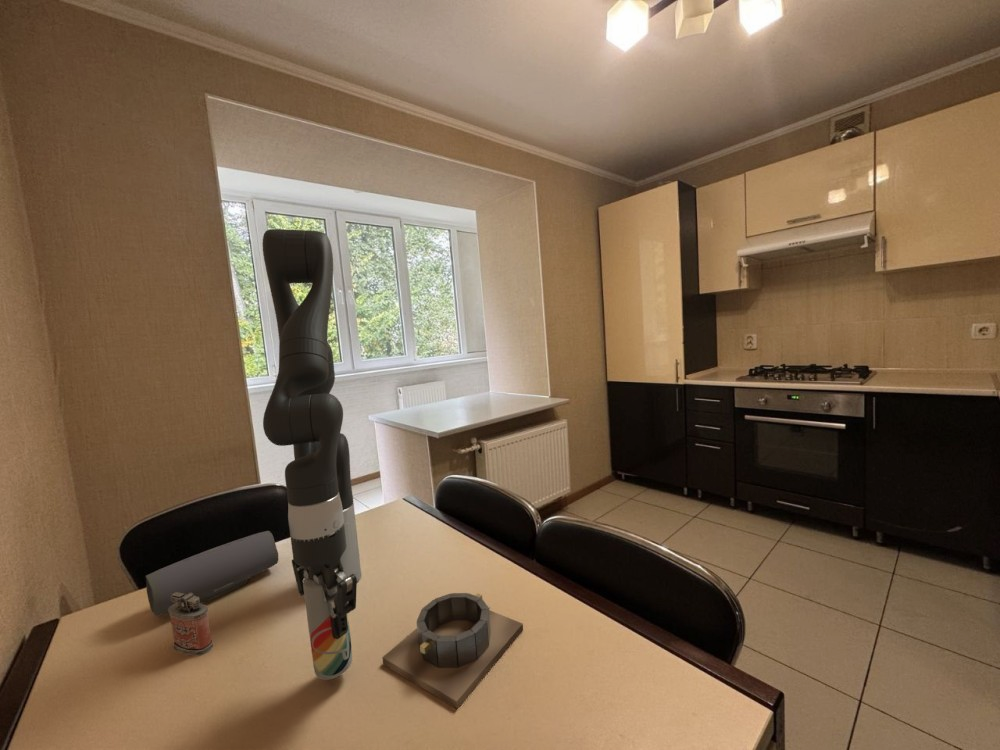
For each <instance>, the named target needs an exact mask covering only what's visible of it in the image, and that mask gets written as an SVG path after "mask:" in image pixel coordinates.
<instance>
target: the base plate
mask: <svg viewBox="0 0 1000 750" xmlns="http://www.w3.org/2000/svg"><path fill="white" fill-rule="evenodd" d="M487 606H488V608H489V616H490V629H491V636H490V643H489V647H488V648H487V649H486V651H485V652H484V653H483V654H482V655H481V656H480V657H479V658H478V659H477V660H476V661H473V662H471V663H469V664H466V665H464V666H462V667H458V668H439V667H438V668H437V667H436V666H434V665H432V664H430V663H428V662H426V661H425V660H424V659H423V657H422V654H421V652H420V649H419V644H418V633H417V627H416V628H415V629H414V630H412V632H410V633H409V634H408V635H407V636H405V637H404V638H403V639H402V640H401V641H400V642H398V643H397V644H396V645H395V646H394V647H393V648H392V649H391V650H389V651H388V652H387V653H386V654H384V655H383V656H382V664H383V666H385V667H388V668H389V669H390V670H391V671H393V672H395V673H397V674H399V675H400V676H402V677H403V678H405V679H406V680H409V681H410V682H412V683H414V684H416V685H417V686H419V687H420V688H422V689H424V690H425V691H427V692H429V693H430V694H432V695H433V696H436V698H438V699H440V700H442V701H444V702H445V703H447V704H448V705H450V706H451V707H453V708H455V709H457V710H458V709H459V707H461V705H462V704H463V703H464V702H465V701H466V699H467V698H468V697H469V696H470V695H471V694H472V692H473V691H474V690H475V689H476V687H477V686H478V685H479V684H480V682H481V681H482V680H483V679H484V678H485V676H486V675H487V674H488V673H489V672H490V670H491V669H493V667H494V665H496V663H497V662H498V661H499V660H500V658H501V657H502V656H503V655H504V653H505V652H507V650H508V649H509V648H510V646H511V645H512V644H513V643H514V642H515V640H516V639H517V638H518V637H519V636H520V634H522V632H523V631H524V624H523V623H522V622H519V621H518V620H515V619H512V618H510V617H508V616H505V615H502V614H499V613H498V612H495V611H492V610H490V609H491V606H489V605H487ZM475 625H476V624H474V623H472V622H470V621H467V620H460V621H451V622H448V623H446V624H443V625H440V626H439V627H438V628H437V629H436V630H434V631H433V633H435V634H437V635H439V636H455V635H458V634H461V633H463V632H466V631H468V630H471V629H472V628H473V627H474V626H475Z"/></svg>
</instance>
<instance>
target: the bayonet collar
mask: <svg viewBox="0 0 1000 750" xmlns="http://www.w3.org/2000/svg"><path fill="white" fill-rule="evenodd" d="M488 606H489V605H487V604H486V602H485V601H484V599H483V595H482V594H481V593H477V594H476V595H474V594H471V593H468V592H452V593H447V594H445V595H441V596H439V597H436V598H434V599H432V600H431V601H430V602H428V603H427V604H426V605H425V606H424V607H422V608H421V610H420V612H419V615H418V618H417V619H416V628H417V633H418V644H419V649H420V652H421V654H422V657H423V659H424V660H425V661H426V662H428V663H430V664H432V665H434V666H436V667H437V668H438V667H439V668H458V667H462V666H464V665H466V664H469V663H471V662H473V661H476V660H477V659H478V658H479V657H480V656H481V655H482V654H483V653H484V652H485V651H486V649H487V648H488V647H489V643H490V636H491V629H490V616H489V610H490V609H489V608H488ZM460 620H467V621H470V622H472V623H474V624H476V625H475V626H474V627H473V628H472V629H471V630H468V631H466V632H463V633H461V634H458V635H455V636H439V635H437V634H435V633H433V631H434V630H436V629H437V628H438V627H439V626H440V625H443V624H446V623H448V622H451V621H460Z"/></svg>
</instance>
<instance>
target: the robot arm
mask: <svg viewBox="0 0 1000 750" xmlns="http://www.w3.org/2000/svg"><path fill="white" fill-rule="evenodd" d="M329 238H330V237H329V236H328V235H327V234H326V233H324V232H323V231H319V230H318V231H317V230H310V229H306V230H304V229H287V228H286V229H282V228H280V229H279V228H270V229H267V230H265V232H264V233H263V236H262V253H263V254H262V255H263V260H264V261H263V262H264V266H265V270H266V272H265V273H266V275H267V280H268V284H269V289H270V294H271V295H270V296H271V299H272V303H273V307H274V314H275V318H276V323H277V324H276V325H277V333H278V340H279V342H278V348H279V350H278V372H277V376H276V380H275V383H274V386H273V390H272V392H271V394H270V397H269V398H268V401H267V404H266V407H265V410H264V414H263V419H262V420H263V421H262V427H263V431H264V435H265V436H266V438H267V439H268V441H270V443H272V444H273V445H275V446H281V447H285V446H292V445H293V446H292V447H293V456H294V457H293V458H294V459H293V460H292V461H290V462H289V463H288V464H287V465H286V466H285V468H284V480H285V488H286V489H285V490H286V495H287V496H286V498H287V503H288V504H287V505H288V511H287V512H288V513H287V518H288V519H287V520H288V527H289V537H290V545H291V552H292V559H291V565H292V568H293V569H292V571H293V574H294V578H295V583H296V587H297V591H298V593H299V596H301V597H303V596H304V588H303V581H304V579H305V578H306V580H309V579H310V578H309V572H308V567H315V566H319V565H320V568H321V572H320V573H318V574H316V575H314V576H313V579H314V582H315V585H318V586H321V589H322V597H323V602H324V603H327V604H328V609H329V612H330V615H331V616H330V619H331V627H332V636H333V638H335V639H339V638H340V637H342V636H343V635H344V634H346V633H347V631H348V623H347V614H348V615H349V613H350V612H352V611H354V610H355V609H357V587H358V582H359V581H360V579H361V577H362V570H361V569H362V568H361V559H360V549H359V539H358V530H357V522H356V521H357V519H356V512H355V505H354V504H355V503H354V497H353V496H354V495H353V488H352V477H351V476H352V475H351V462H350V461H351V460H350V459H351V458H350V457H351V456H350V455H351V454H350V447H349V442H348V438H347V436H346V435H345V434H344V433H341V431H342V426H343V421H344V410H343V405H342V403H341V401H339V399H338V397H336V396H335V395H334V394H332V393H331V392H332V389H333V387H334V384H335V380H336V375H335V374H336V373H335V364H334V363H335V362H334V354H333V350H332V347H331V345H330V343H329V342H328V329H329V318H330V311H331V310H330V309H331V303H332V302H331V301H332V291H333V279H334V257H333V256H334V255H333V248H332V244H331V241H330V239H329ZM291 284H311V287H310V289H309V291H308V293H307V295H306V296H305V297H304V299H303V300H302V301H301V303H300V304H299V303H298V301H297V300H296V297H295V295H294V293H293V290H292V288H291ZM325 585H326V586H325ZM335 586H337V588H336V591H337V592H336V593H334V594H333V595H331V596H329V595H328V592H327V589H329V590H330V589H332V588H334V587H335ZM326 587H327V589H326ZM336 598H337V606H336V607H335V604H334V600H335V599H336Z"/></svg>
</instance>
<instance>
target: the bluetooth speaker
mask: <svg viewBox="0 0 1000 750" xmlns="http://www.w3.org/2000/svg"><path fill="white" fill-rule="evenodd" d="M278 562H279V551H278V549H277V544H276V542H275V538H274V536H273V533H272V532H271V531H270V530H266V531H261V532H257V533H254V534H251V535H248V536H245V537H243V538H239V539H236V540H233V541H231V542H227V543H225V544H224V543H223V544H222V545H219V546H216V547H213V548H210V549H207V550H204V551H202V552H200V553H197V554H194V555H192V556H190V557H187V558H184V559H182V560H179V561H177V562H174V563H171V564H170V565H167V566H165V567H163V568H159V569H158V570H155V571H154V572H151V573H149V574H146V575H145V579H146V581H145V582H146V595H147V599H148V603H149V607H150V611H151V612H152V613H153V615H154V616H153V617H154V618H155V617H157V616H161V615H164V614H167V613H168V608H169V607H170V606H172V605H173V604H175V602H172V600H171V596H172V594H174V593H176V592H178V593H183V594H186V595H187V594H189V593H193V594H194V596H196V597H199V601H200V603H201V604H204V603H206V602H208V601H211V600H213V599H215V598H218V597H220V596H222V595H224V594H226V593H230V592H231V591H233V590H236V589H237V588H239V587H241V586H243V585H245V584H246V583H247V582H248V579H250V578H252V577H255V576H256V575H258V574H260V573H262V572H265V571H267V570H269V569H271V568H272V567H274V566H276V565H277V564H278Z"/></svg>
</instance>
